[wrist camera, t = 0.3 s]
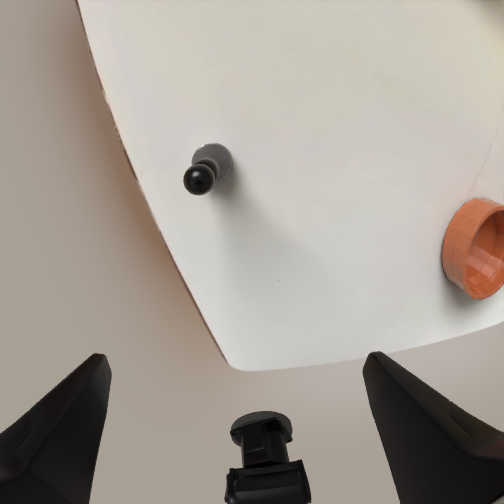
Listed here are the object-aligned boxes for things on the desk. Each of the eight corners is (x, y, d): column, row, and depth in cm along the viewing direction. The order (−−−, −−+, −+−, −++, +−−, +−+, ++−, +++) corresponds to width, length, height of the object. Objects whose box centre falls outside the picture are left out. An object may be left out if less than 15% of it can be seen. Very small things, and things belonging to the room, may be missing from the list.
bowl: (498, 260, 31) (519, 273, 27) (443, 297, 32) (463, 315, 27) (493, 184, 27) (518, 192, 23) (432, 217, 28) (458, 229, 24)
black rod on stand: (238, 170, 25) (248, 198, 13) (203, 186, 25) (181, 230, 13) (222, 136, 24) (216, 131, 12) (187, 153, 24) (148, 165, 12)
